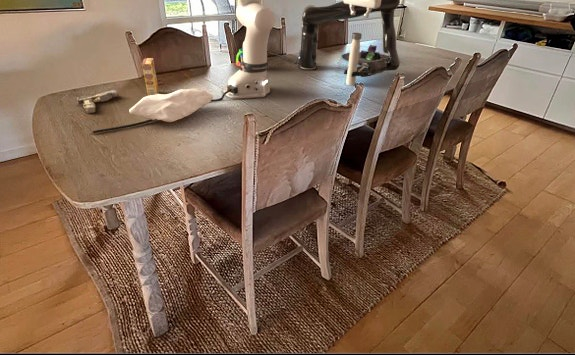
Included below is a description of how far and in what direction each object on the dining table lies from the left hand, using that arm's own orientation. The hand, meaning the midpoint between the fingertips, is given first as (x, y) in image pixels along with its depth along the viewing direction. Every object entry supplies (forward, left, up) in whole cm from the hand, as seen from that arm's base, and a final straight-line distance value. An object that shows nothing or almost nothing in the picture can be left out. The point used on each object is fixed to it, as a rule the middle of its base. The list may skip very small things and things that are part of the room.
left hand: (359, 16), depth 173 cm
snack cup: (-39, +44, -33) cm, 68 cm away
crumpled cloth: (-93, -5, -33) cm, 99 cm away
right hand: (-3, 0, -27) cm, 27 cm away
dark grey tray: (+41, +37, -33) cm, 64 cm away
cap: (0, 0, -8) cm, 8 cm away
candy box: (-96, +20, -33) cm, 104 cm away
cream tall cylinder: (0, 0, -33) cm, 33 cm away
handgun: (-118, +17, -33) cm, 124 cm away
